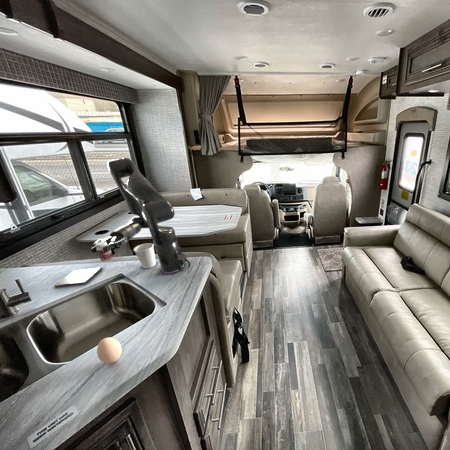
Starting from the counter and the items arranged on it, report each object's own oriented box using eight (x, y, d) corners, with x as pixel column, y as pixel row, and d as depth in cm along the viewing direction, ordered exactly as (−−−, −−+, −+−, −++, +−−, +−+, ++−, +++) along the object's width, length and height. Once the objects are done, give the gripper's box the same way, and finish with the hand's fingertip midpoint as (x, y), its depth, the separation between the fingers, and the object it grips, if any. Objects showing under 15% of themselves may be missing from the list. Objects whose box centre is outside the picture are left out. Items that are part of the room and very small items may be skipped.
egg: (114, 351, 73) (105, 330, 69) (129, 353, 72) (120, 333, 68) (98, 367, 68) (87, 346, 65) (113, 370, 67) (103, 349, 64)
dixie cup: (161, 259, 123) (156, 242, 119) (154, 268, 115) (149, 250, 111) (144, 261, 122) (138, 244, 118) (136, 270, 114) (129, 252, 110)
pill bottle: (106, 262, 109) (100, 245, 106) (98, 261, 110) (91, 245, 107) (116, 256, 114) (109, 240, 110) (107, 256, 115) (101, 240, 111)
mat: (102, 269, 117) (101, 267, 116) (85, 283, 106) (84, 282, 105) (74, 272, 115) (73, 270, 115) (55, 287, 104) (54, 285, 104)
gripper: (106, 228, 121) (78, 243, 106) (135, 227, 121) (111, 242, 106) (112, 241, 124) (85, 258, 109) (139, 240, 124) (116, 257, 109)
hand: (98, 250), depth 107 cm, fingers closed on pill bottle, 4 cm apart
